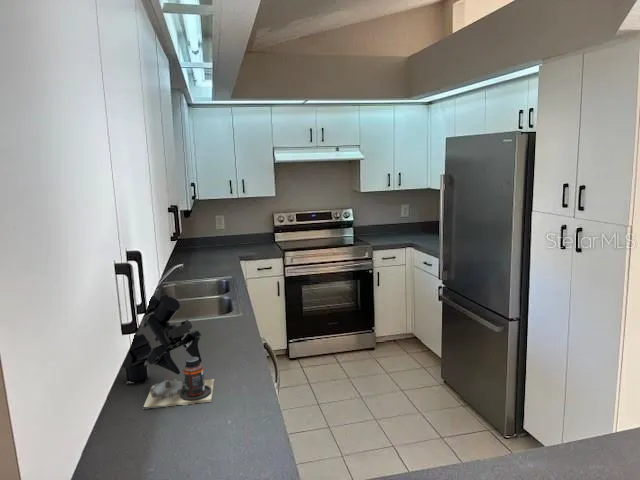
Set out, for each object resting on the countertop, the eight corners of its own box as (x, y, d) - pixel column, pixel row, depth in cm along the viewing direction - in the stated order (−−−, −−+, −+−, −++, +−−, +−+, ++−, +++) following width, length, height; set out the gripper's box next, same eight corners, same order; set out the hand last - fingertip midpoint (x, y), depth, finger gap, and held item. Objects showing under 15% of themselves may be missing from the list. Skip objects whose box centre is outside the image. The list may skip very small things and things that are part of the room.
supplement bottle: (209, 391, 153) (206, 357, 151) (194, 399, 148) (191, 364, 146) (196, 387, 156) (193, 354, 154) (181, 394, 151) (178, 360, 150)
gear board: (143, 409, 145) (142, 397, 145) (152, 388, 159) (151, 377, 159) (211, 402, 148) (210, 390, 147) (214, 381, 162) (213, 370, 162)
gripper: (149, 323, 144) (179, 365, 140) (195, 306, 159) (222, 343, 156) (134, 344, 149) (162, 385, 145) (180, 326, 165) (206, 362, 161)
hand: (190, 367), depth 151 cm, fingers open, 9 cm apart
